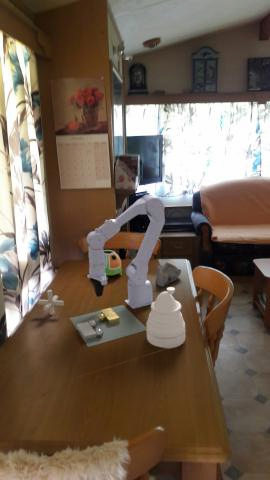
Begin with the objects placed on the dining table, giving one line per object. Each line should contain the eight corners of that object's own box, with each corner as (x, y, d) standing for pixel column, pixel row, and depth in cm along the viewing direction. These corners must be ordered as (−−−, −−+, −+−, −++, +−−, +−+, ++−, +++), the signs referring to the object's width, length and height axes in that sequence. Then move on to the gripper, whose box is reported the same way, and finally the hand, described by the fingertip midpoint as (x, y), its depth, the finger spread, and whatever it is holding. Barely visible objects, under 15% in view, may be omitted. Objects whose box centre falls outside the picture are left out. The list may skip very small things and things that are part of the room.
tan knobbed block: (119, 322, 130) (119, 316, 130) (103, 327, 128) (102, 321, 127) (110, 312, 138) (110, 306, 137) (94, 316, 135) (94, 310, 135)
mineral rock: (180, 277, 170) (180, 257, 168) (185, 286, 160) (185, 264, 157) (153, 279, 169) (152, 259, 166) (157, 288, 159) (156, 267, 156)
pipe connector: (59, 321, 133) (56, 297, 131) (34, 319, 135) (31, 295, 133) (69, 309, 143) (66, 286, 140) (45, 307, 145) (43, 285, 142)
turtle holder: (104, 266, 189) (102, 244, 186) (127, 274, 177) (126, 251, 173) (85, 272, 181) (83, 250, 178) (108, 281, 168) (106, 258, 165)
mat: (123, 305, 144) (122, 304, 144) (148, 330, 125) (148, 329, 125) (69, 318, 135) (69, 318, 135) (88, 347, 116) (88, 346, 116)
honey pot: (188, 330, 124) (188, 282, 119) (180, 351, 112) (180, 298, 107) (152, 325, 128) (151, 278, 123) (141, 345, 116) (139, 294, 111)
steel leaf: (103, 336, 122) (103, 330, 121) (85, 341, 119) (84, 335, 118) (94, 324, 129) (94, 318, 129) (77, 329, 127) (76, 323, 126)
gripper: (81, 259, 141) (83, 291, 145) (93, 270, 128) (95, 305, 132) (98, 256, 144) (100, 287, 147) (111, 267, 131) (113, 301, 135)
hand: (99, 295), depth 140 cm, fingers closed
